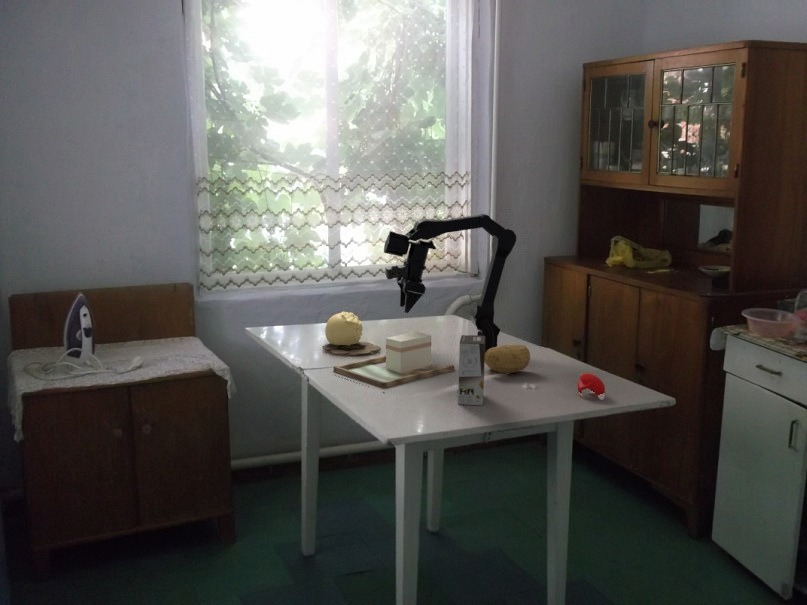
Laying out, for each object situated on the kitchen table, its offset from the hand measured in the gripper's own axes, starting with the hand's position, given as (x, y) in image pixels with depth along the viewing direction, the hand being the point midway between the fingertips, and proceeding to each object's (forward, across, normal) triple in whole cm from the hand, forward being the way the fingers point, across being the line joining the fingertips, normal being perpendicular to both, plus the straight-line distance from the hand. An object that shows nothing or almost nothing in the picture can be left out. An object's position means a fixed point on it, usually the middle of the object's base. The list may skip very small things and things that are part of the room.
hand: (403, 309), depth 256 cm
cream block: (+13, +19, +2) cm, 23 cm away
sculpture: (+18, -14, -13) cm, 27 cm away
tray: (+15, +22, -2) cm, 27 cm away
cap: (+4, +48, +44) cm, 66 cm away
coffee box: (+12, +47, +13) cm, 51 cm away
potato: (+8, +24, +29) cm, 38 cm away
